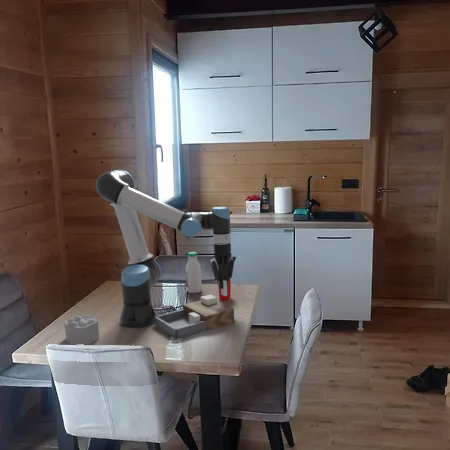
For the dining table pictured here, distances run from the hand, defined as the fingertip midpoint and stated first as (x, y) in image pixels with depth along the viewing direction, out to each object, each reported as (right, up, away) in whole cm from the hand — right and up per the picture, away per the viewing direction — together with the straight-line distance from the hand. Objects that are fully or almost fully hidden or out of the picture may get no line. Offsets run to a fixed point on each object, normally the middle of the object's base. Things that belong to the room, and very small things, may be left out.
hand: (224, 294), depth 219 cm
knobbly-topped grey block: (-56, -14, -24) cm, 63 cm away
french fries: (0, -5, +18) cm, 19 cm away
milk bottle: (-15, -3, +32) cm, 35 cm away
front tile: (-11, -8, -17) cm, 21 cm away
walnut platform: (-7, -10, -8) cm, 14 cm away
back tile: (-7, -3, -4) cm, 8 cm away
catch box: (-18, -11, -16) cm, 27 cm away
